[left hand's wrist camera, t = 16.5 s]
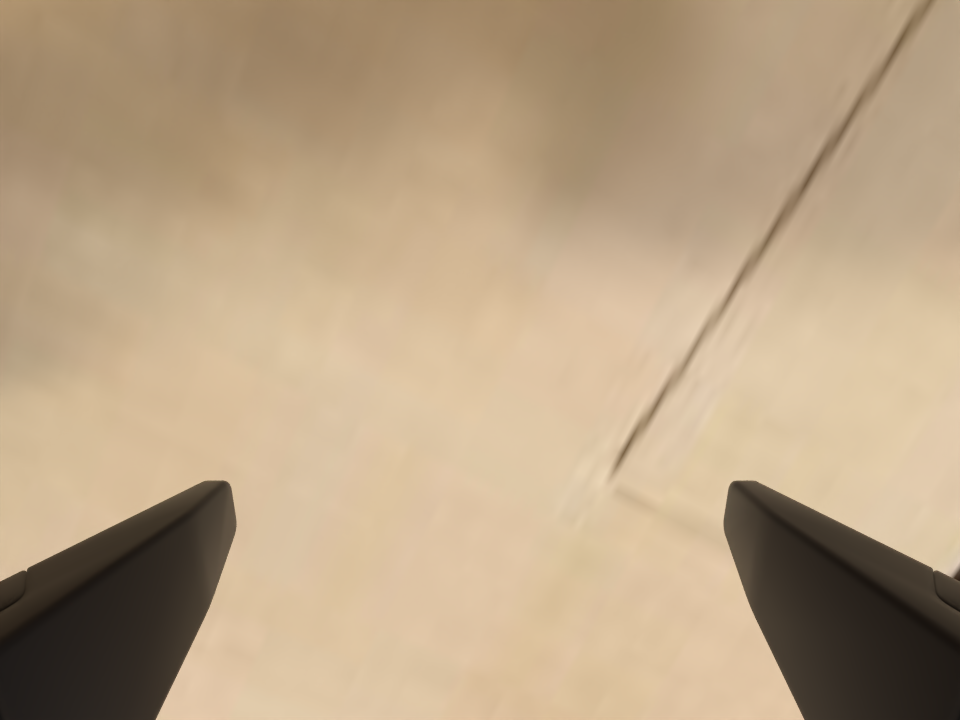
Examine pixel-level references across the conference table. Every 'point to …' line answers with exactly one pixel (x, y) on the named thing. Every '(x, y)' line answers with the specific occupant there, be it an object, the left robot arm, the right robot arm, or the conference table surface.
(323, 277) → the conference table surface
